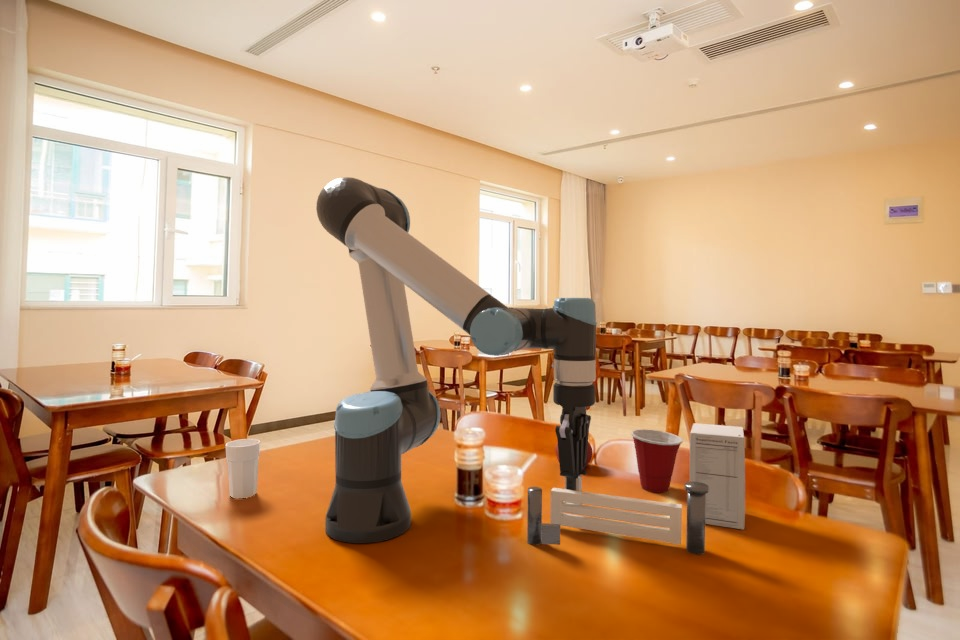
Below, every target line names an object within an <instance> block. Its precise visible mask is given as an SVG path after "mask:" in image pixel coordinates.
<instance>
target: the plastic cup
mask: <svg viewBox="0 0 960 640" xmlns="http://www.w3.org/2000/svg"><path fill="white" fill-rule="evenodd" d="M630 433H631V436H632V440H633V445H634V449H635V450H634V451H635V457H636V463H637V471H638V475H639V481H640V485H641V488H642V489H643V490H644V491H646V492H651V493H656V494H657V493H666V492H668V491H669V489H670V486H671V482H672V477H673V473H674V468H675V464H676V459H677V455H678V451H679V448H680V446H681V444H683V442H684V441H683V440H684V439H683V438H682V437H681V436H679V435H676V434H674V433H671V432H667V431H662V430H657V429H649V428H646V429H644V428H642V429H641V428H640V429H634V430H631V432H630Z"/></svg>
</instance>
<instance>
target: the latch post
mask: <svg viewBox="0 0 960 640" xmlns="http://www.w3.org/2000/svg"><path fill="white" fill-rule="evenodd" d="M542 513H543V489H542V488H541V487H539V486H530V487H527V513H526V515H527V517H526V518H527V522H526V523H527V527H526V529H527V530H526V531H527V533H526V534H527V537H526V539H527V540H526V541H527V544H529V545H532V546H539V545H541V544H542V545H557V546H560V545H561V526H560V524H551V523H549V522H548V523H547V522H546V523H545V522H543V521H542V520H543V514H542Z"/></svg>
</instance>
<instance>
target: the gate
mask: <svg viewBox="0 0 960 640" xmlns="http://www.w3.org/2000/svg"><path fill="white" fill-rule="evenodd" d="M565 501H566V502H573V503H580V504H582V505H579V504H572V503H565ZM682 508H683V504H681V503H673V502H664V501H658V500H649V499H642V498H634V497H627V496H619V495H610V494H604V493H596V492H590V491H575V490H567V489H565V488H559V487H552V489H551V490H550V524H560V527H561V526H562V527H569V528H575V529H582V530H587V531H588V530H589V531H594V532H601V533H606V534H611V535H612V534H614V535H620V536H626V537H632V538H640V539H645V540H649V541H650V540H651V541H657V542H663V543H669V544H675V545H682V527H683V526H682V524H683V523H682V515H683V513H682V511H683V509H682Z"/></svg>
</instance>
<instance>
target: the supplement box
mask: <svg viewBox="0 0 960 640" xmlns="http://www.w3.org/2000/svg"><path fill="white" fill-rule="evenodd" d="M689 482H701V483H704V484H706V485H708V486H709V488H708V493H706V507H705V525H711V526H718V527H725V528H730V529H737V530H745V520H746V519H745V517H746V455H745V434H744V427H743V426H737V425H734V426H733V425H724V424H723V425H722V424H721V425H720V424H708V423H707V424H706V423H696V422H695V423H694V422H693V423H692V426H691V430H690V433H689Z"/></svg>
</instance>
